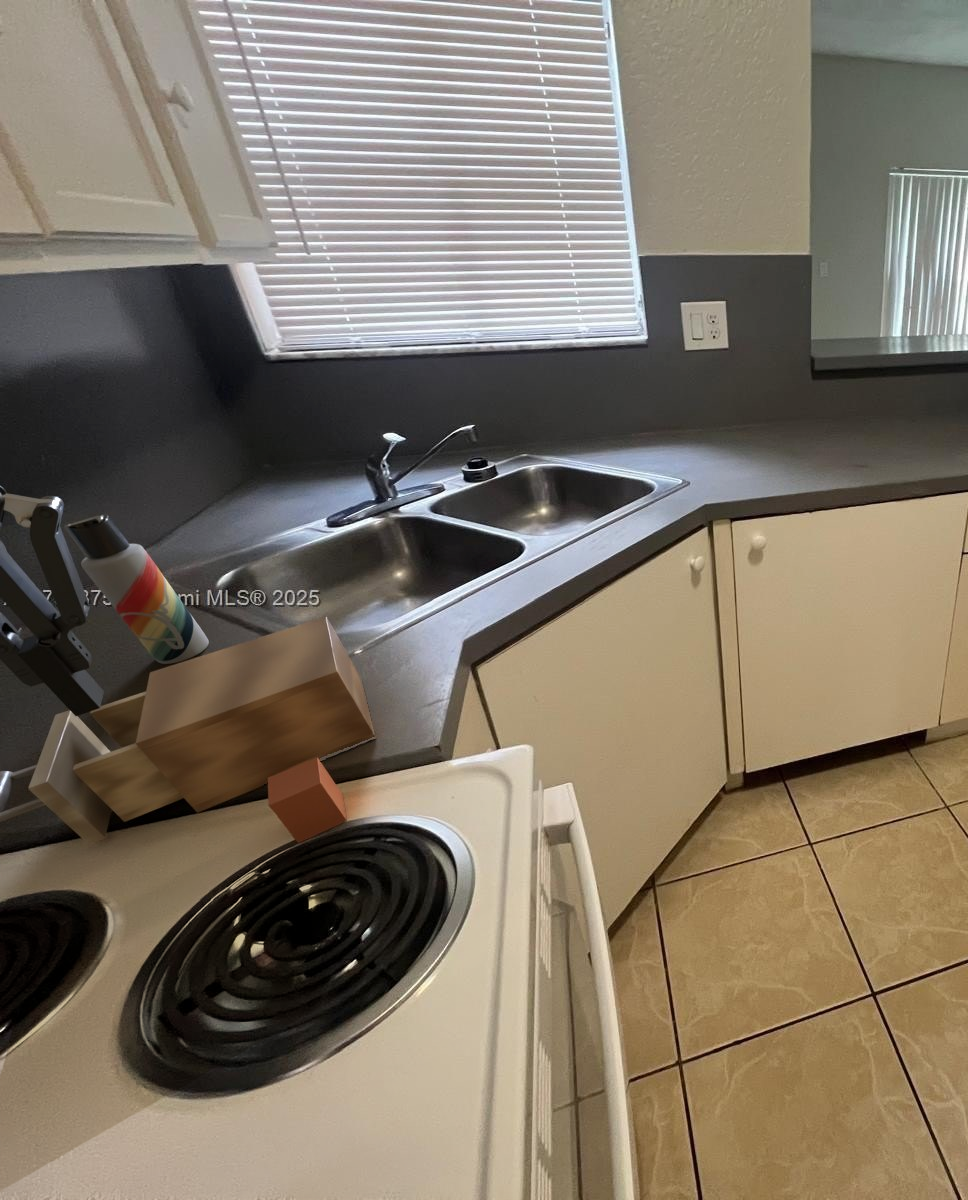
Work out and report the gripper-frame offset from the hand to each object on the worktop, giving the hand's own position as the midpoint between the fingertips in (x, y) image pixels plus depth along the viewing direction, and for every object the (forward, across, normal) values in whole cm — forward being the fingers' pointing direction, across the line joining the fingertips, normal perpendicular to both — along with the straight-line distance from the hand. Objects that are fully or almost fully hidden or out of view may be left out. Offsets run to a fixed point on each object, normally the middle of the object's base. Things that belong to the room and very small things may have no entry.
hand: (90, 703), depth 52 cm
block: (+16, +10, -8) cm, 20 cm away
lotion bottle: (+16, -2, +37) cm, 40 cm away
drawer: (+15, -3, +8) cm, 17 cm away
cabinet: (+16, +8, +8) cm, 19 cm away
